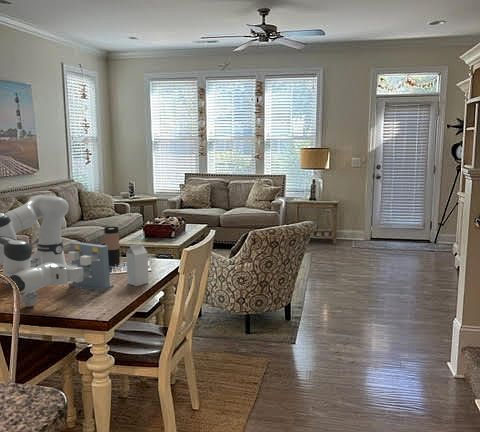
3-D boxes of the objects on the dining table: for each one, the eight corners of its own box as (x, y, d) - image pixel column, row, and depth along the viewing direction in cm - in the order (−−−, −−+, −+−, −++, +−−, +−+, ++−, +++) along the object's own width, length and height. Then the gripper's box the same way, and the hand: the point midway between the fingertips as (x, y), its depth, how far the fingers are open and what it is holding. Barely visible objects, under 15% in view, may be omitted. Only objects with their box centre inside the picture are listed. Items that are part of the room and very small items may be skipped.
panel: (69, 285, 222) (66, 244, 218) (81, 281, 229) (79, 240, 225) (101, 291, 213) (99, 248, 209) (113, 286, 220) (111, 244, 216)
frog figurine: (32, 310, 191) (31, 293, 190) (18, 308, 193) (16, 291, 192) (42, 304, 197) (41, 288, 195) (28, 303, 199) (27, 287, 197)
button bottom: (72, 281, 212) (71, 273, 212) (88, 275, 221) (88, 268, 221) (78, 282, 211) (77, 274, 210) (94, 276, 220) (94, 269, 219)
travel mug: (103, 263, 260) (101, 227, 256) (116, 261, 265) (114, 226, 261) (109, 266, 254) (107, 229, 251) (122, 263, 259) (121, 228, 256)
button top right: (80, 264, 208) (79, 256, 208) (96, 259, 217) (96, 251, 217) (86, 265, 207) (85, 257, 206) (102, 260, 216) (102, 252, 215)
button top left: (68, 259, 217) (68, 252, 216) (84, 254, 226) (84, 247, 225) (74, 260, 215) (74, 253, 215) (90, 255, 224) (90, 248, 223)
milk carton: (148, 283, 225) (147, 244, 222) (136, 286, 220) (134, 246, 216) (139, 280, 229) (138, 242, 226) (127, 283, 224) (125, 244, 221)
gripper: (31, 278, 194) (57, 270, 207) (67, 284, 186) (93, 276, 198) (30, 263, 194) (56, 256, 206) (67, 269, 185) (92, 261, 197)
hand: (75, 266), depth 202 cm, fingers closed
